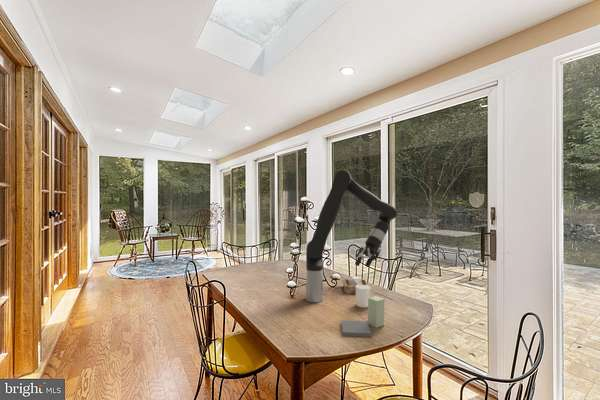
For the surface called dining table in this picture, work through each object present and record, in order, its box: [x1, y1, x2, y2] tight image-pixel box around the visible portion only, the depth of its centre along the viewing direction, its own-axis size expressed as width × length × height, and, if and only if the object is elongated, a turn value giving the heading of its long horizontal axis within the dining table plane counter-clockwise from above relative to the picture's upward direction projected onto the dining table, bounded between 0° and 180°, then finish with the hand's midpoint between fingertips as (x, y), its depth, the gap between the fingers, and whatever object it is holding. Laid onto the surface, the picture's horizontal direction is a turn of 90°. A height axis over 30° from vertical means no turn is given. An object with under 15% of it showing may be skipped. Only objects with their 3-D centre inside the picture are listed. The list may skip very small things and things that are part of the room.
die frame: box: [342, 278, 369, 295], centre depth 189 cm, size 14×15×4 cm
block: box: [367, 295, 385, 328], centre depth 139 cm, size 5×5×12 cm
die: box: [348, 275, 363, 286], centre depth 189 cm, size 8×9×10 cm
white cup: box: [355, 284, 372, 308], centre depth 163 cm, size 8×8×10 cm
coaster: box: [340, 319, 373, 338], centre depth 133 cm, size 12×12×2 cm
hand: (361, 265), depth 153 cm, fingers open, 8 cm apart
